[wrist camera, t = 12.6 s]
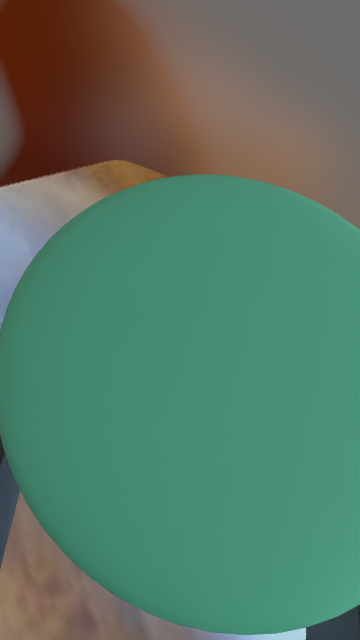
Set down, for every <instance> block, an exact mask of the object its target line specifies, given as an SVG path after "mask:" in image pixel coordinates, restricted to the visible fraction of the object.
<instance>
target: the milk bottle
mask: <svg viewBox="0 0 360 640" xmlns="http://www.w3.org/2000/svg"><path fill="white" fill-rule="evenodd" d="M0 435H1V440H2V444H3V448H4V452H5V454H6V457H7V460H8V463H9V465H10V468H11V471H12V474H13V476H14V479H15V481H16V483H17V484H18V486H19V488H20V490H21V492H22V494H23V496H24V498H25V500H26V502H27V504H28V506H29V507H30V509H31V510H32V512H33V513H34V515H35V516H36V518H37V520H38V521H39V523H40V524H41V526H42V527H43V529H44V530H45V531H46V532H47V534H48V535H49V536H50V537H51V538H52V540H53V541H54V542H55V543H56V544H57V545H58V547H59V548H60V549H61V550H62V551H63V553H64V554H65V555H66V556H67V557H68V558H69V559H71V560H72V561H73V562H74V563H75V564H76V565H77V566H78V567H79V568H80V569H81V570H82V571H84V572H85V573H86V574H87V575H88V576H89V577H90V578H92V579H93V580H94V581H96V582H97V583H99V584H100V585H101V586H103V587H104V588H106V589H107V590H108V591H110V592H111V593H113V594H114V595H115V596H117V597H119V598H121V599H122V600H124V601H126V602H128V603H130V604H132V605H133V606H135V607H137V608H139V609H141V610H143V611H145V612H147V613H149V614H152V615H154V616H157V617H160V618H162V619H165V620H168V621H170V622H173V623H176V624H178V625H183V626H187V627H191V628H195V629H200V630H204V631H208V632H216V633H227V634H238V635H255V634H274V633H281V632H286V631H291V630H296V629H301V628H306V627H309V626H312V625H315V624H318V623H321V622H323V621H326V620H329V619H332V618H335V617H337V616H339V615H341V614H343V613H345V612H347V611H348V610H350V609H352V608H354V607H356V606H358V605H360V230H359V229H357V228H356V227H355V226H353V225H352V224H351V223H349V222H348V221H347V220H345V219H344V218H342V217H341V216H339V215H338V214H336V213H335V212H333V211H331V210H330V209H328V208H326V207H324V206H322V205H321V204H319V203H317V202H315V201H313V200H311V199H309V198H307V197H304V196H302V195H300V194H297V193H295V192H293V191H290V190H287V189H284V188H282V187H279V186H276V185H272V184H268V183H265V182H261V181H257V180H252V179H247V178H242V177H234V176H226V175H183V176H176V177H168V178H162V179H158V180H153V181H149V182H146V183H142V184H139V185H135V186H133V187H130V188H127V189H125V190H122V191H119V192H117V193H115V194H113V195H111V196H109V197H106V198H104V199H102V200H101V201H99V202H97V203H95V204H94V205H92V206H90V207H88V208H87V209H85V210H84V211H82V212H81V213H80V214H78V215H77V216H75V217H74V218H73V219H71V220H70V221H69V222H68V223H67V224H65V225H64V226H63V227H62V228H61V229H60V230H59V231H58V232H57V233H56V234H54V235H53V236H52V237H51V238H50V239H49V240H48V242H47V243H46V244H45V245H44V246H43V247H42V249H41V250H40V251H39V252H38V253H37V255H36V256H35V257H34V259H33V260H32V262H31V263H30V265H29V266H28V267H27V269H26V270H25V272H24V274H23V276H22V277H21V279H20V281H19V283H18V285H17V286H16V288H15V291H14V293H13V295H12V298H11V300H10V302H9V304H8V307H7V310H6V313H5V316H4V319H3V322H2V326H1V330H0Z"/></svg>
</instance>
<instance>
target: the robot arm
mask: <svg viewBox="0 0 360 640" xmlns="http://www.w3.org/2000/svg"><path fill="white" fill-rule="evenodd" d="M19 492H20V488H19V486H18V484H17V483H16V481H15V479H14V476H13V474H12V471H11V468H10V465H9V463H8V460H7V457H6V454H5V452H4V448H3V444H2V440H1V435H0V568H1V564H2V560H3V556H4V552H5V548H6V544H7V540H8V536H9V532H10V528H11V524H12V520H13V516H14V512H15V508H16V504H17V500H18V496H19ZM306 640H360V605H358V606H356V607H354V608H352V609H350V610H348V611H347V612H345V613H343V614H341V615H339V616H337V617H335V618H332V619H329V620H326V621H323V622H321V623H318V624H315V625H312V626H309V627H306Z"/></svg>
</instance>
